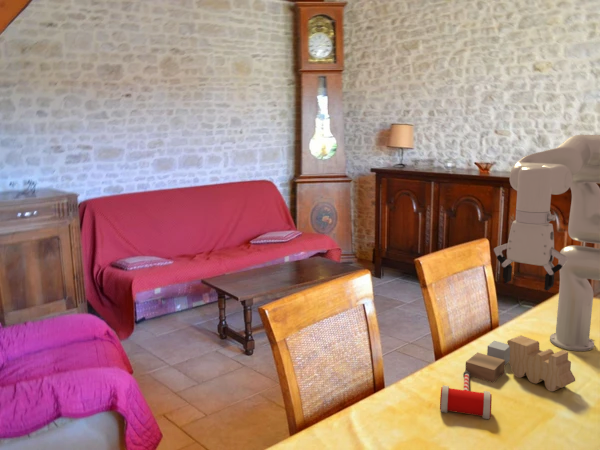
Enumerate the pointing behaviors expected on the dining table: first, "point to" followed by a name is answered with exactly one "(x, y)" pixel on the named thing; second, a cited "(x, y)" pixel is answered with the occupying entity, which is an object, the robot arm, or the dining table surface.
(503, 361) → the walnut block
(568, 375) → the toy train
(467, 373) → the toy hammer
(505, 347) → the slate brick
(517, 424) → the dining table surface
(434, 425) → the dining table surface
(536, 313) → the dining table surface
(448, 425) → the dining table surface
